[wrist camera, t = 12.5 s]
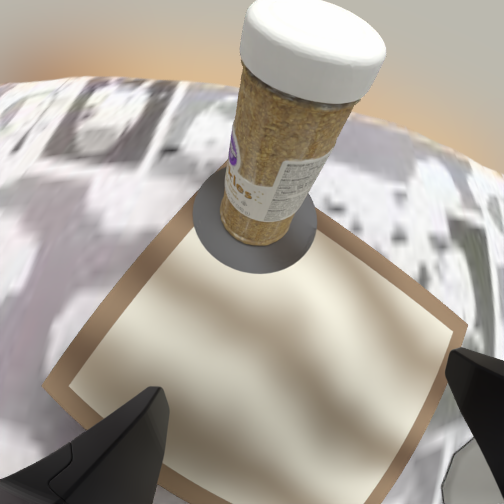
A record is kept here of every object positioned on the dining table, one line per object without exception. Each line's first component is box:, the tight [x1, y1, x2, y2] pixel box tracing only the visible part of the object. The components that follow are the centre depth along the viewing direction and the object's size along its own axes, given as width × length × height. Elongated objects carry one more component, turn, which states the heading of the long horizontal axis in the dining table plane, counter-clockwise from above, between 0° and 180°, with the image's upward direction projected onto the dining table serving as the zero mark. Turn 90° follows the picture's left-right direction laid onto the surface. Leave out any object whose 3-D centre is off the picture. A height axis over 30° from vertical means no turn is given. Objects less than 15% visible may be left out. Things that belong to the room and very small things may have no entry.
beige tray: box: [42, 160, 468, 504], centre depth 17 cm, size 21×22×1 cm
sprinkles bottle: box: [220, 0, 386, 246], centre depth 13 cm, size 5×5×13 cm
